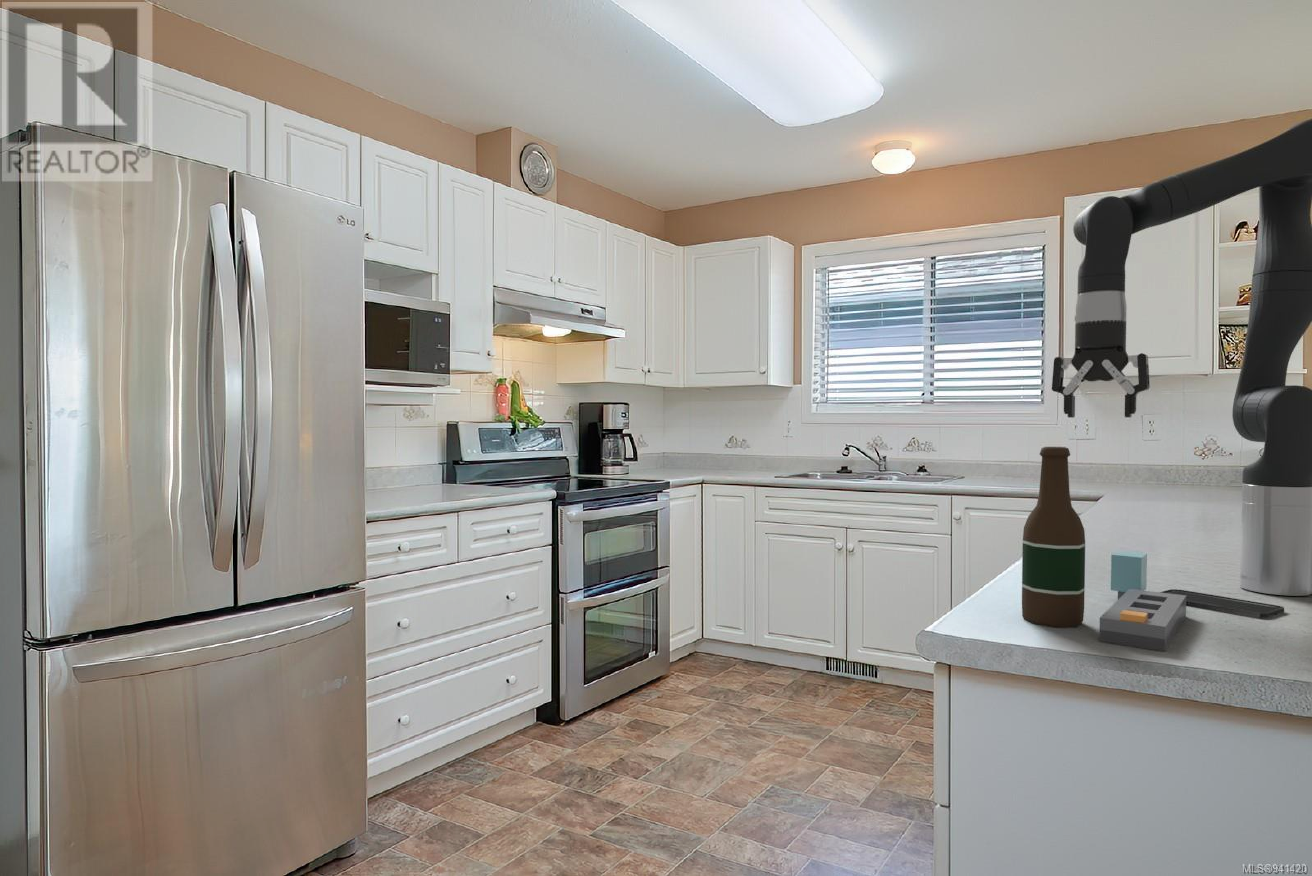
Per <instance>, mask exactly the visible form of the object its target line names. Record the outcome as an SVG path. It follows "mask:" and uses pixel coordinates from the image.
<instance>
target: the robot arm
mask: <svg viewBox="0 0 1312 876" xmlns="http://www.w3.org/2000/svg"><path fill="white" fill-rule="evenodd" d="M1256 188H1258V198H1259V200H1258V201H1259V202H1258V205H1259V206H1258V207H1259V208H1258V209H1259V215H1258V219H1259V220H1258V228H1257V234H1256V243H1255V253H1254V255H1255V256H1254V264H1253V270H1252V275H1251V277H1252V278H1251V287H1250V297H1249V314H1248V320H1247V321H1248V323H1247V329H1246V336H1245V347H1244V352H1243V358H1242V363H1241V367H1240V372H1239V376H1238V380H1237V385H1236V390H1235V394H1234V398H1233V403H1232V404H1233V405H1232V412H1231V413H1232V422H1233V426H1234V428H1235V430H1236V431H1237V433H1238V434H1239V435H1240V436H1241V438H1243V439H1245V440H1247V441H1248V442H1249V441H1250V442H1256V443H1257V442H1258V443H1263V445H1264V446H1263V452H1262V455H1261V456H1260V457H1259V458H1258V459H1257V460H1256V461H1254V462H1252V463H1250V464H1248V465H1246V466H1244V468H1243V470H1242V477H1241V478H1242V479H1241V480H1242V481H1241V482H1242V484H1241V485H1242V486H1241V487H1242V488H1241V490H1242V491H1241V534H1240V535H1241V537H1240V572H1239V573H1240V575H1239V579H1240V580H1239V581H1240V582H1239V586H1240V588H1242V589H1244V590H1246V591H1251V592H1256V593H1263V594H1266V595H1267V594H1268V595H1278V596H1290V597H1291V596H1293V597H1294V596H1295V597H1301V596H1302V597H1303V596H1310V595H1312V389H1311V388H1310V387H1308V386H1303V385H1286V383H1287V382H1286V380H1287V372H1288V366H1289V362H1290V361H1291V357H1292V354H1293V352H1294V350H1295V348H1296V347H1297V345H1298V344H1299V342H1300V340H1301V339H1302V337H1303V336H1304V334H1305V333H1306V331H1307V330H1308V328H1309V327H1310V325H1311V323H1312V219H1311V214H1312V213H1311V210H1312V118H1310V119H1306V120H1303V121H1302V122H1299V123H1296V124H1294V125H1293V126H1291V127H1289V128H1288V129H1287V130H1285V131H1283V132H1282V133H1280V134H1279V135H1276V136H1275V137H1273V138H1271V139H1269V140H1266V141H1264V142H1262V143H1260V144H1258V145H1254V146H1253V147H1251V148H1248V149H1245V150H1243V151H1241V152H1239V153H1237V154H1233V155H1231V156H1228V157H1225V158H1222V159H1220V160H1216V161H1213V162H1210V163H1208V164H1204V165H1201V166H1197V167H1195V168H1192V169H1189V170H1186V171H1183V172H1179V173H1177V174H1174V175H1171V176H1168V177H1165V178H1161V179H1160V180H1157V181H1154V182H1152V183H1149V184H1146V185H1144V186H1142V187H1141V188H1138V189H1136V190H1135V191H1133V192H1132V193H1129V194H1127V195H1126V194H1125V195H1123V196H1121V197H1118V196H1113V195H1110V196H1104V197H1100V198H1099V199H1097V200H1095V201H1094V202H1092V203H1091V204H1090V205H1088V206H1087V207H1086V208H1084V209H1083V210H1082V211H1081V212H1080V213H1079V214H1078V216H1077V217H1076V218H1075V220H1074V222H1073V229H1072V230H1073V236H1074V237H1075V239H1076V240H1077V241H1078V242H1079V243H1080V244H1082V245H1084V246H1085V251H1084V256H1083V260H1082V261H1081V262H1080V264H1079V267H1078V271H1077V296H1076V297H1077V298H1076V304H1075V313H1074V314H1075V315H1074V322H1075V324H1074V326H1075V327H1074V328H1075V329H1074V354H1073V355H1072V357H1062V356H1061V357H1060V356H1056V357H1054V359H1053V367H1052V378H1051V379H1052V380H1051V381H1052V382H1051V390H1052V391H1053V392H1056V393H1059V394H1061V395H1062V396H1063V413H1064V415H1067V417H1068V418H1073V419H1074V418H1075V417H1076V395H1074V393H1075V392H1076V391H1077V390H1078V389H1079V388H1080V387H1081V386H1082V385H1083V384H1084V383H1085V381H1087V382H1092V383H1094V382H1095V383H1096V382H1099V381H1103V382H1111V381H1114V380H1115V381H1116V383H1118V384H1119V385H1120V387H1122V389H1123V390H1124V392H1126V394H1124V418H1132V415H1133V414H1134V415H1135V414H1136V412H1137V395H1138V394H1139V393H1142V392H1144V391H1145V392H1146V391H1148V390H1150V369H1149V368H1150V367H1149V356H1148V354H1145V353H1138V354H1135V355H1134V354H1133V355H1128V353H1127V299H1126V262H1127V258H1128V255H1129V250H1130V245H1131V239H1132V236H1133V235H1134V234H1136V233H1139V232H1141V231H1143V230H1146V229H1150V228H1153V227H1156V226H1160V225H1163V224H1167V223H1170V222H1173V221H1176V220H1180V219H1182V218H1184V217H1187V216H1190V215H1193V214H1197V213H1198V212H1201V211H1203V210H1206V209H1208V208H1211V207H1213V206H1215V205H1218V204H1220V203H1222V202H1224V201H1227V200H1229V199H1231V198H1234V197H1236V196H1238V195H1241V194H1243V193H1246V192H1248V191H1251V190H1253V189H1256ZM1129 362H1131V363H1132V366H1133V367H1134V368H1137V374H1138V377H1137V378H1138V383H1137V384H1135V385H1134V384H1133V383H1132V382H1131V381H1130V379H1129V378H1128V377H1127V375H1125V374H1124V372H1123V370H1124V369H1125V368H1126V367H1127V366H1128V364H1129ZM1071 365H1072V366H1073V367H1074V368H1075V369H1074V370H1076V371H1077V372H1076V373H1075V375H1074V376H1073V377H1072V378H1071V380H1070V381H1069V382H1068V384H1066V386H1064V377H1065V376H1064V375H1065V371H1066V370H1068V369H1069V366H1071Z"/></svg>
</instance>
